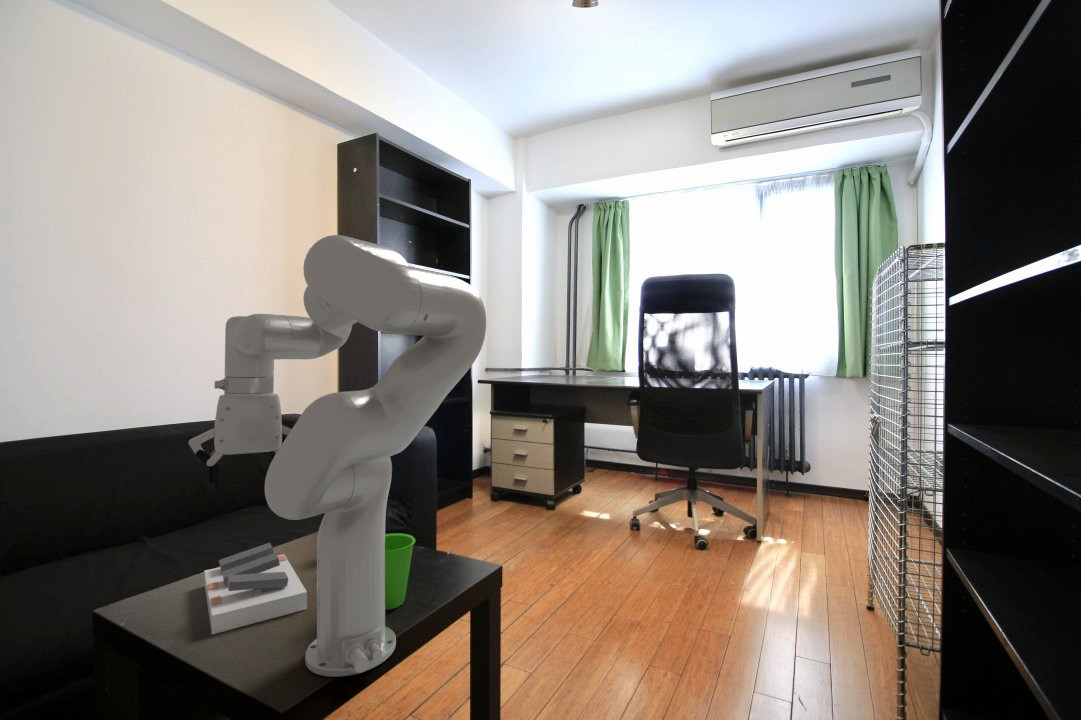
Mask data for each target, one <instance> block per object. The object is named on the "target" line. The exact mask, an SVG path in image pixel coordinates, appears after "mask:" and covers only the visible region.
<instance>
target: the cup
mask: <svg viewBox="0 0 1081 720" xmlns="http://www.w3.org/2000/svg"><path fill="white" fill-rule="evenodd" d="M415 543H416V538H415V537H414V536H413V535H411V534H407V533H398V532H397V533H385V611H386V610H393V609H397V608H399V607H400V605H401V606H402V605H403V604H404V603H403V602H405V600H406V594H407V587H408V582H409V574H410V568H411V561H412V555H413V547H414V545H415Z"/></svg>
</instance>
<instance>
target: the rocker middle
mask: <svg viewBox="0 0 1081 720" xmlns="http://www.w3.org/2000/svg"><path fill="white" fill-rule="evenodd" d="M279 565H280V563H279V558H278V555H277V553H276V552H274V553H273V554H270V555H267V556H265V557H262V558H259V559H256V560H253V561H251V562H248V563H245V564H242V565H240V566H237V567H234V568H231V569H228V570H226V571H223V572H222V575H223V580H224V584H225V586H226V585H227V581H228V576H229V575H242V574H258V573H261V572H263V571H266V570H269V569H271V568H274V567H277V566H279Z"/></svg>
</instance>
